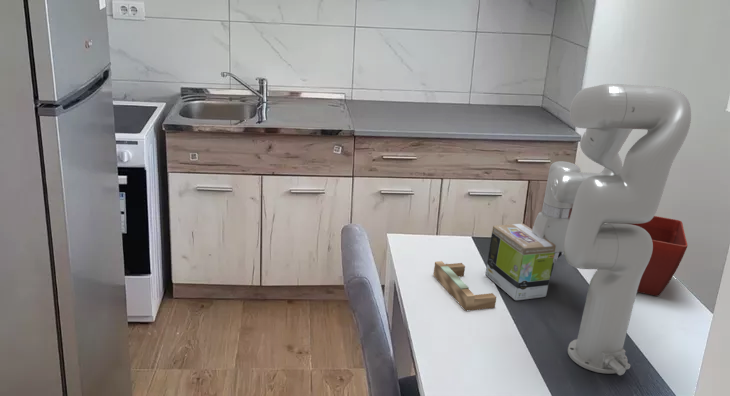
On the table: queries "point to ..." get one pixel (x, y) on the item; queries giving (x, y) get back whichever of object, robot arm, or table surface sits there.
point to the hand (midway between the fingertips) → (545, 274)
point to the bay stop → (461, 287)
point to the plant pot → (662, 253)
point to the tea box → (520, 261)
